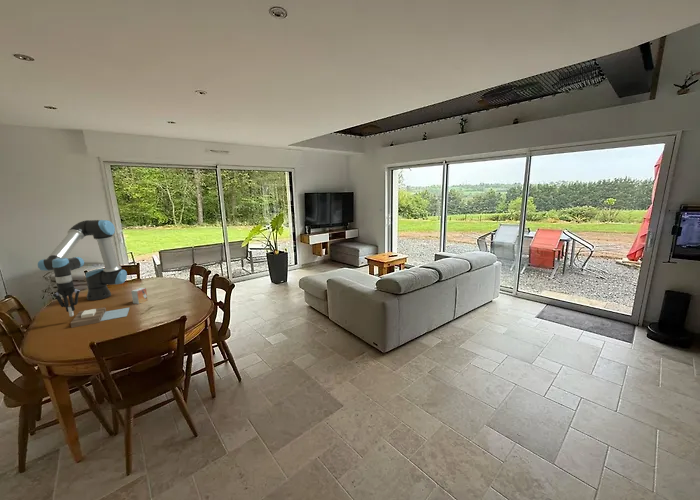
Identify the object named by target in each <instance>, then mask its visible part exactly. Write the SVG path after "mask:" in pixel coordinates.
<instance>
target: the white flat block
mask: <svg viewBox="0 0 700 500" xmlns="http://www.w3.org/2000/svg"><path fill="white" fill-rule="evenodd" d="M96 309H97V308H92V309H85V310H83V311H84V312H83V313H82V314H81V318H85V317H91V316H94V314H95V313H96Z"/></svg>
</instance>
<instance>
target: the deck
mask: <svg viewBox="0 0 700 500" xmlns="http://www.w3.org/2000/svg"><path fill="white" fill-rule="evenodd" d="M95 309H96V313H95V314H94V316H91V317H85V318H81V314H82V313H83V312H84V311H85V310H80V311H78V313H77V314H76V315H75V317H74V318H73V319H72V321H71V322H70V327H71V329H73V328H76V327H77V328H78V327H81V326H86V325H87V326H88V325H93V324H98V323H101V322H102V321H101V319H102V317H103V315H104V313H105V312H106V311H107V308H106V307H105V306H104V307H99V308H95Z"/></svg>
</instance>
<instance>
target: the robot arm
mask: <svg viewBox="0 0 700 500" xmlns="http://www.w3.org/2000/svg"><path fill="white" fill-rule="evenodd" d="M115 231H116V228H115V225H114V223H113V222H112V221H110V220H107V219H93V220H92V219H91V220H82V221H79V222H77V223H76V224H74V225H72V226H71V227H70V228H69V229H68V230H67V234H66V236H65V237H64V238H63V239H62V240H61V242H59V244H58V245H57V246H56V247H55V248H54V249H53V250H52V252H51V253H50V254H49V256H48V257H47V258H43V259H40V260H39V261H38V262H37V268H38V269H39V270H40V271H44V272H45V271H53V274H54V278H55V283H56V289H57V292H55V293H53V294H52V296H53V297H54V298H56V301H57V302H58V304H59V305H60V307H61V308H65V311H66V312H68V315H69V317H74V315H75V314H74V312H75V310H76V309H75V306H77V304H78V302H79V295H80V292H81V290H80V289H76V287H75V285H74V281H73V276H72V272H71V271H74V270H77V269H79V268H81V267H83V266H84V264H85V260H84V259H83V258H82V257H79V256H75V257H71V258H67V257H68V255H69V254H70V253H71V252H72V250H73V249H74V248H75V247H76V246H77V244H78V243H79V242H80V240H83V239H84V238H85V237H86V236H92V237H93V239H94V240H96V242H97V245H98V248H99V252H100V255H101V259H102V262H103V266H104V268H97V269H93V270H89V271H87V272H85V282H86V285H87V293H86V299H87V301H98V300H103V299H106V298H109V297H111V296H112V292H111V291H110V289H109V288H108V285H109V286H110V285H122V284H124V283H125V282H126V280H127V277H128V273H127V271H126V270H125V269H122V266H121V265H119V263H118V259H117V255H116V251H115V248H114V245H113V244H114V243H113V240H112V238H113V236H114V234H115ZM74 293H75V294H74ZM73 294H74V295H75V296H74V298H73ZM60 295H61V296H60ZM62 298H63V300H62Z"/></svg>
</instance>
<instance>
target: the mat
mask: <svg viewBox="0 0 700 500" xmlns="http://www.w3.org/2000/svg"><path fill="white" fill-rule="evenodd" d="M129 311H130V307H125V308H124V307H123V308H118V309H112V310H106V312H105V313H104V315H103V317H102V319H101V321H100V322H104V321H109V320H115V319H119V318H124V317H125V318H126V317H127V316H128V314H129Z"/></svg>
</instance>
